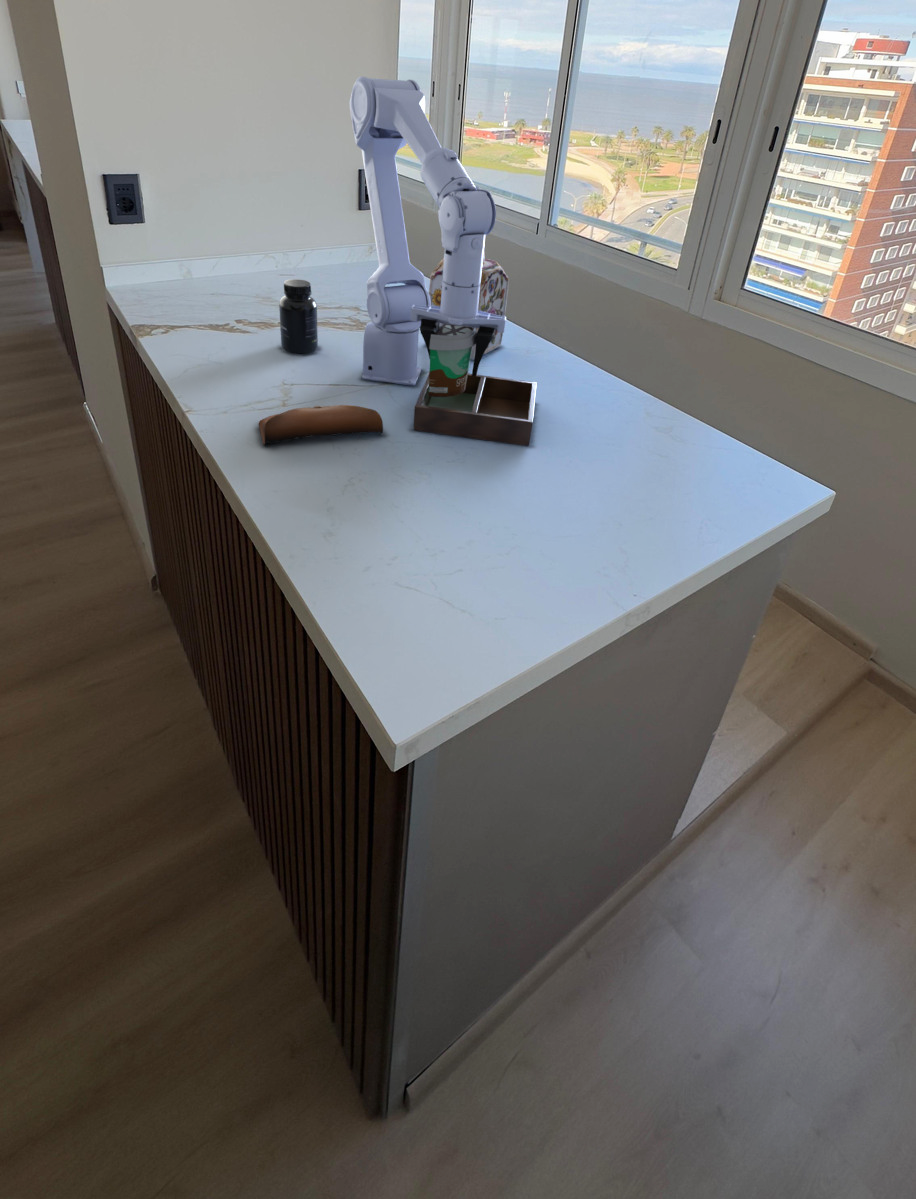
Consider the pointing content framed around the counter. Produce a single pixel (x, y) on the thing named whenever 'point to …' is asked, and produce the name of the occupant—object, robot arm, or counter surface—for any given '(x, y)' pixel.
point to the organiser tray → (480, 410)
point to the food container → (450, 359)
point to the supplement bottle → (298, 318)
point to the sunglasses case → (319, 422)
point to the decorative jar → (489, 296)
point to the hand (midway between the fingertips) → (453, 371)
